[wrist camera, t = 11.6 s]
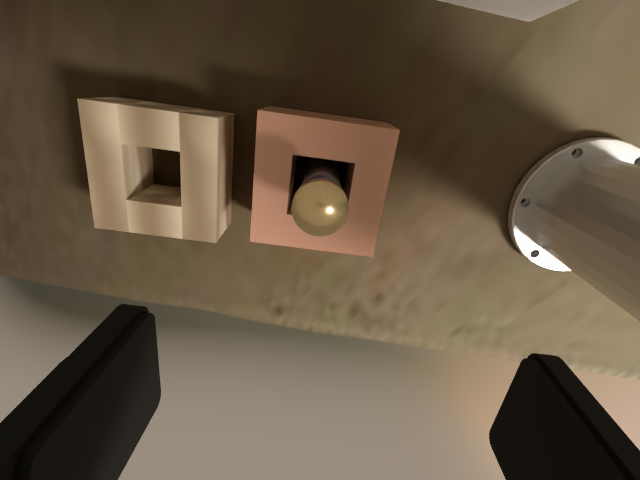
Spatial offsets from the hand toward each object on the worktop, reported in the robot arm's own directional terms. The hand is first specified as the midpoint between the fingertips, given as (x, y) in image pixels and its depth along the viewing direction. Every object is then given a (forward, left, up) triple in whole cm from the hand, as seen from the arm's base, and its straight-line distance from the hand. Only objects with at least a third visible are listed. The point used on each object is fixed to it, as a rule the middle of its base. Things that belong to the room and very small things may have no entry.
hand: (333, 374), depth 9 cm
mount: (+14, +1, -25) cm, 28 cm away
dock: (+1, 0, -25) cm, 25 cm away
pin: (+1, 0, -25) cm, 25 cm away
